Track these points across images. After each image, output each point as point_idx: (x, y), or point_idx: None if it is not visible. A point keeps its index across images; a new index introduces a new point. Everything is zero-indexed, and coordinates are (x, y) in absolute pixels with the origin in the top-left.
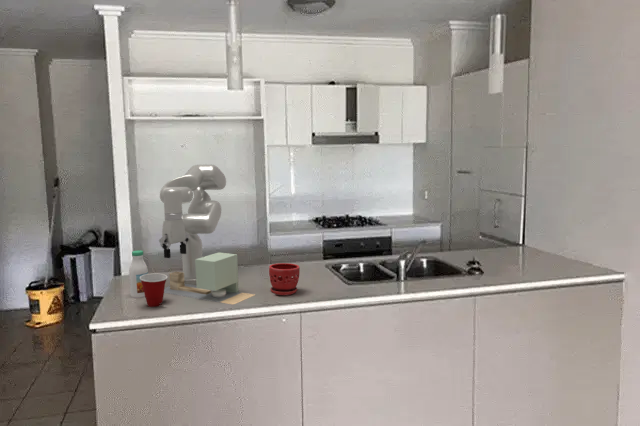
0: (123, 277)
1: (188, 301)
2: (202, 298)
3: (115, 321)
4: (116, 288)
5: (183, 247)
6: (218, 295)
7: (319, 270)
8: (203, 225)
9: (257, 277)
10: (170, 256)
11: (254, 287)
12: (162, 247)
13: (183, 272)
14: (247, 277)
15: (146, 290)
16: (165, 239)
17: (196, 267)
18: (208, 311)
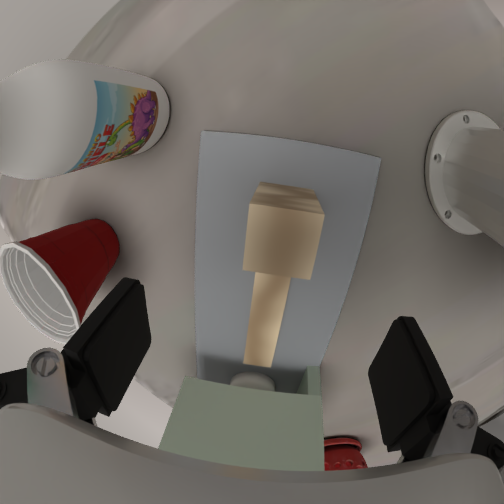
0: None
1: (178, 323)
2: (202, 361)
3: (9, 236)
4: None
5: (390, 416)
6: None
7: (484, 413)
8: None
9: (469, 363)
10: (147, 350)
11: (372, 403)
12: (31, 358)
13: (309, 276)
14: (475, 343)
15: (37, 265)
16: (37, 487)
17: (162, 442)
18: (149, 386)
